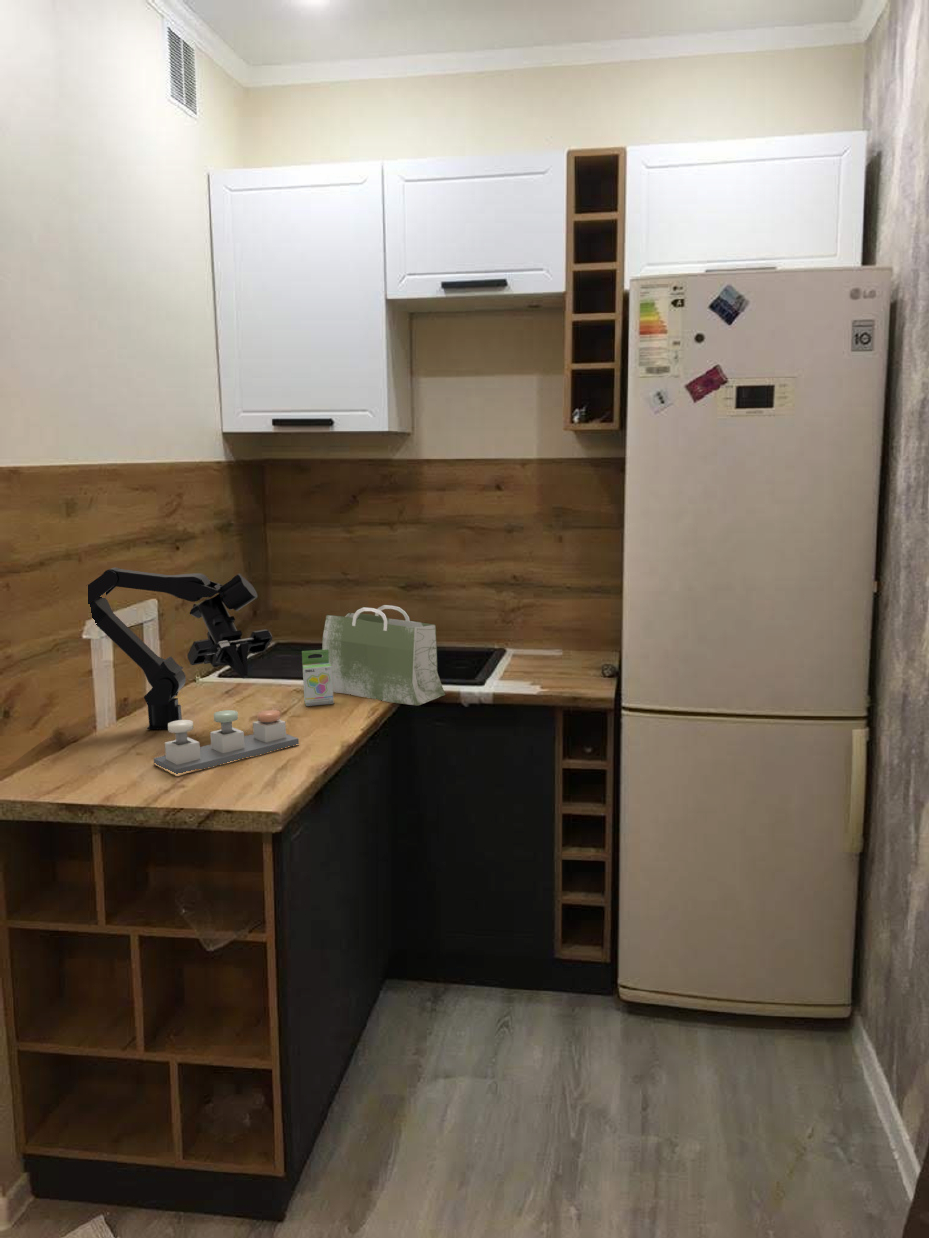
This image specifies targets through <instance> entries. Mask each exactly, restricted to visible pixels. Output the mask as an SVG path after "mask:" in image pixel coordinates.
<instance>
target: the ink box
mask: <svg viewBox="0 0 929 1238" xmlns="http://www.w3.org/2000/svg"><path fill="white" fill-rule="evenodd" d="M311 655H321V657H312V658H311V657H310V658H309V656H311ZM322 655H323V657H322ZM301 659H302V660H301V663H302V678H303V682H302V683H303V698H304V699H303V701H304V704H305V706H306V707H311V706H312V707H314V706H323V705H334V704H335V701H334V692H333V683H332V667H331V665H330V663H329V649H326V650H322V649H317V650H315V649H313V650H302V651H301Z"/></svg>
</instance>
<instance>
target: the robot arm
mask: <svg viewBox="0 0 929 1238" xmlns="http://www.w3.org/2000/svg"><path fill="white" fill-rule="evenodd" d="M87 585H88V604H90V607H91V613H92V618H93V619H94V620H95V623H97V624H96V625H97V626H96V625H95V626H96V627H97V628H99V629H100V630H101V631H102V632H103V633H104V634H105V635H106V636H107V637H108V638H109V639H110V640H111V641H112V642H113V643H114V644H115V645H117V647H118V648H119V649H120V650H121V651H123V652H124V654H126V656H128V657H129V658H130V659H131V660H132V661H133V662H134V663H135V664H136V665H137V666H139V668H140V669H141V670H142V671H143V673H144V676H145V678H146V680H147V682H148V684H149V685H150V686H151V689H150V690H149V691H148V692H147V693H146V694H145V695H144V696H143V699H144V700H145V704H146V705H147V715H148V717H147V718H148V726H147V727H146V730H147V729H159V730H168V723H170V722H173V721H177V720H183V718H182V717H183V716H182V705H181V704H179V698H178V695H179V692H180V690H181V689H182V688H183V687H184V686H185V684H186V681H187V680H186V674H185V672H184V671H183V669H184V667H183V666H181V665H180V664H178V663H177V662H176V660H175V659H174V658H173V657H172V656H168V657H167V658H162V657H160V656H159V655H157V654H156V653H155V652H154V651H153V650H152V649H151V648H150V647H149V645H147V644H146V643H145V642H144V641H143V640H142V639H140V638H139V636H137V634H136V633H135V632H134V631H133V630H132V629H131V628H129V627H128V626H127V625H126V624H125V623H124V622H123V621H122V620H121V618H119V617H118V616H117V615H116V614H115V613H114V611H113V610H112V607H111V605H110V603H109V601H108V600H107V598H106V597H105V598H102V597H100V596H101V595H103V594H104V593H105V592H106V596H108V595H109V594H110V593H111V592H112V591H114V589H115V588H116V587H118V588H125V589H135V590H139V591H141V590H142V591H148V592H149V591H150V592H157V593H158V592H159V593H164V594H168V595H171V596H173V597H176V599H177V598H178V599H181V600H183V601H184V600H185V601H187V602H193V603H194V602H198V601H200V600H202V599H203V598H206V599H204V600H203V601H201V602H199V603H198V604H196V603H194V604H193V606H192V608H191V609H190V612H189V614H190V616H193V617H195V618H197V619H200V618H201V619H202V620H203V622H204V624H205V627H206V628H207V633H206V635H207V638H206V639H200V640H196V641H193V643H192V644H191V647H190V649H189V650H188V653H187V659H188V661H189V664H190V665H191V666H197V665H202V664H204V665H208V664H210V665H211V666H212V667H213V668H218V667H221V666H228V667H230V668H231V669H232V670H233V671H234V672H235V673H237V674H238V676H240V677H241V678H242V679H247V678H248V675H249V671H248V670H249V667H248V663H249V662H248V657H249V656H248V655H249V653H250V654H252V655H254V654H261V653H264V652H266V651H267V649H268V647H269V646H270V644H271V642H272V640H273V638H274V637H273V635H272V632H270V630H269V629H261V630H259V629H258V630H254V631H252V632H251V634H250V636H249V637H248V638H242V635H243V632H242V630H238V628H236V625H235V624H234V622H235V621H236V619H235V616H233V615H232V616H231V615H230V613H229V611H228V610H230V611H231V610H234V611H235V612H238V611H240V610H241V609H242V608H244V607H246V605H247V606H248V604H250V603H251V602H253V601H254V600H255V599H257V598H258V597H259V596H258V593H257V591H256V589H255V587H254V586H253V584H252V583H251V582H249V581H248V580H247V579H246V578H245V577H243V576H242V574H241V573H238V574H236V575H235V576H234V577H232V578H231V579H230V580H229V581H227V582H226V583H225V584H222V583H217V582H215V581H212V580H210V578H208V576H207V575H205V574H204V573H200V572H199V573H197V572H196V573H181V574H165V573H164V574H162V573H155V572H146V571H141V570H140V571H138V570H131V569H122V568H119V567H111V568H108V569H107V570H105V571H104V572H103V573H101V575H100V576H98V577H96V578H95V579H94V580H93V581H91V582H90V583H89V584H87Z"/></svg>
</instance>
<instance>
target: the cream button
mask: <svg viewBox="0 0 929 1238" xmlns="http://www.w3.org/2000/svg"><path fill="white" fill-rule="evenodd" d="M193 729H194V721H193V720H190V719H182V720H177V721H173V722H170V723H168V729H167V731H168V732H169V733H172V734H175V740H176V745H178V746H179V745H183V744H187V743H188V742H187V737H188V732H190V731H192V730H193Z"/></svg>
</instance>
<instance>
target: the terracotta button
mask: <svg viewBox="0 0 929 1238" xmlns="http://www.w3.org/2000/svg"><path fill="white" fill-rule="evenodd" d="M256 714H257V716H256V717H257V721H260V722H264V724H266V725H268V724H272V723H274V721H277V720H281V711H279V710H276V709H266V710H261V711H259V712H257V713H256Z"/></svg>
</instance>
